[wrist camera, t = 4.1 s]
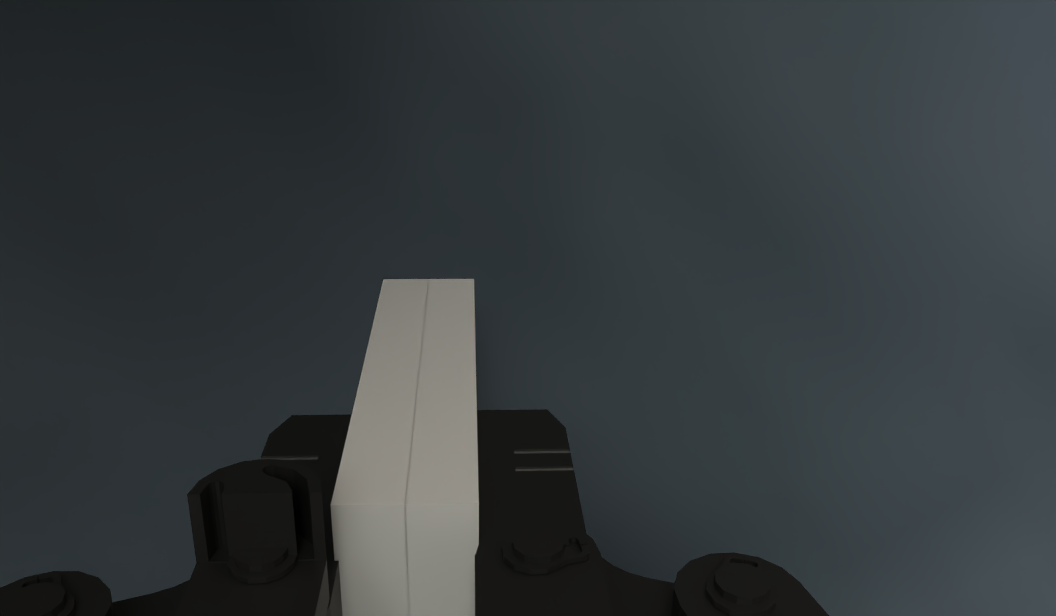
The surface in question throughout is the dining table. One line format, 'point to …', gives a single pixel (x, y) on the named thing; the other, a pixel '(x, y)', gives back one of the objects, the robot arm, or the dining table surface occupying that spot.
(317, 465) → the robot arm
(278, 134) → the dining table surface
